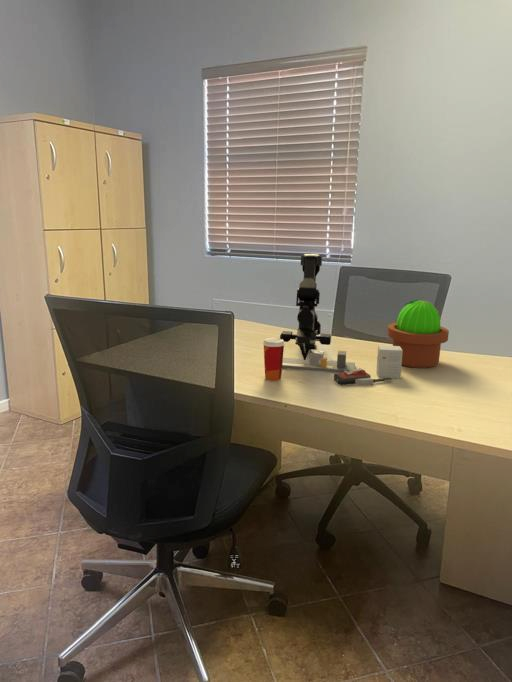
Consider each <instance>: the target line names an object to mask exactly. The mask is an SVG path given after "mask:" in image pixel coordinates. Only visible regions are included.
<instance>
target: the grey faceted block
mask: <svg viewBox="0 0 512 682" xmlns="http://www.w3.org/2000/svg"><path fill="white" fill-rule="evenodd" d="M309 351H310V352H309V359H310V363H309V365H321V357H325V356H324V354H325V350H323V349H315V350H311V349H310V350H309Z"/></svg>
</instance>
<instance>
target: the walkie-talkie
mask: <svg viewBox="0 0 512 682" xmlns="http://www.w3.org/2000/svg"><path fill="white" fill-rule="evenodd" d="M333 373H334V374H333V381H334V382H335V383H337V384H338V385H340V386H348V385H350V386H351V385H356V386H372V385H374V384H375V383H380V382H386V381H392V380H393V378H372V376H371V375H370V373H368V372H366V371H365V369H363V368H360V367H359V368H355V369H351V370H350V371H349V372H347V371H344V372H343V373H336V372H333Z"/></svg>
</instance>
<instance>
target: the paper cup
mask: <svg viewBox="0 0 512 682" xmlns="http://www.w3.org/2000/svg"><path fill="white" fill-rule="evenodd" d="M285 345H286V343H285V342H284V340H283V339H282V340H281V339H280V337H279V338H277V337H268V338H265V339H264V340H263V342H262V346H263V361H264V364H263V365H264V378H265V380H266V381H269V382H277V381H281V379H282V375H283V374H282V372H283V369H282V363H283V358H284V352H285V351H284V349H285V348H284V347H285Z"/></svg>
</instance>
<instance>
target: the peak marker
mask: <svg viewBox="0 0 512 682" xmlns="http://www.w3.org/2000/svg"><path fill="white" fill-rule="evenodd" d="M327 361H328V357H327V356H326V357H325V356H324V357H321V367H326V366H327Z"/></svg>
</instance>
